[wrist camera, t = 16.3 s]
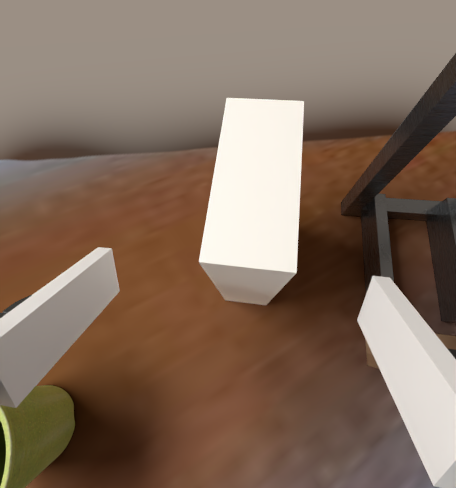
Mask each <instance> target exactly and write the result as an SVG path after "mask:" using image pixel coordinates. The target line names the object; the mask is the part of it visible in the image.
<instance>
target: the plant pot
mask: <svg viewBox="0 0 456 488" xmlns="http://www.w3.org/2000/svg"><path fill="white" fill-rule="evenodd" d="M74 428H75V420H74V403H73V401H72V399H71V397H70V396H69V394H68V393H67V392H66V391H65V390H63V389H62V388H60V387H57V386H52V385H45V386H35V387H34V388H33V390H32V391H31V392H30V393H29V394H28V395H27V396H26V397H25V399H24V400H23V401H22V402H21V403H20V404H19V405H18V406H17V408H14V407H8V406H3V405H0V488H25V487H26V486H27V485H28V484H29V483H30V482H31V481H32V480H34V479H35V478H36V477H37V476H38V475H39V474H40V473H41V472H42V471H43V470H44V469H45V468H46V467H47V466H48V465H50V464H51V463H52V462H53V461H54V460H55V459H56V458H57V457H58V456H59V455H60V454H61V453H62V452H63V451H64V449H65V448H66V447H67V445H68V443H69V441H70V439H71V437H72V434H73V432H74Z"/></svg>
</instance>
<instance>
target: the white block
mask: <svg viewBox="0 0 456 488" xmlns="http://www.w3.org/2000/svg"><path fill="white" fill-rule="evenodd" d="M303 113H304V101H289V100H288V101H287V100H265V99H241V98H227V99H226V106H225V112H224V117H223V123H222V129H221V135H220V140H219V146H218V152H217V158H216V164H215V170H214V176H213V182H212V187H211V193H210V199H209V205H208V211H207V217H206V223H205V229H204V234H203V240H202V246H201V252H200V258H199V263H200V265H201V266H202V267H203V269H204V270H205V272H206V273H207V275H208V276H209V277H210V279H211V280H212V282H213V283H214V285H215V286H216V288H217V289H218V290H219V292H220V293H221V295H222V296H223V298H224V299H225V300H228V301H236V302H244V303H252V304H259V305H267V304H268V303H269V302H270V301H271V300H272V299H273V297H274V296H275V295H276V294H277V293H278V292H279V291H280V290H281V289H282V288H283V287H284V286H285V285H286V284H287V283H288V282H289V281H290V279H291V278H292V277H293V276H294V275H295V274H296V273H297V254H298V230H299V207H300V183H301V160H302V135H303Z"/></svg>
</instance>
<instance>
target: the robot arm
mask: <svg viewBox="0 0 456 488" xmlns="http://www.w3.org/2000/svg"><path fill="white" fill-rule="evenodd" d="M119 291H120V290H119V285H118V279H117V274H116V269H115V263H114V258H113V253H112V249H111V248H101V247H98V248H97V249H95V250H94V251H92V252H91V253H90V254H88V255H87V256H86V257H84V258H83V259H81V260H80V261H79V262H77V263H76V264H74V265H73V266H72V267H70V268H69V269H68V270H66V271H65V272H63V273H62V274H61V275H59V276H58V277H57V278H55V279H54V280H52V281H51V282H50V283H48V284H47V285H46V286H44V287H43V288H41V289H40V290H39V291H37V292H36V293H35V294H33V295H30V296H28V297H26V298H23V299H21V300H19V301H17V302H15V303H14V304H12V305H11V306H9V307H8V308H7V309H5V310H4V311H3V313H0V405H3V406H8V407H14V408H17V406H18V405H19V404H20V403H21V402H22V401H23V400H24V399H25V397H26V396H27V395H28V394H29V393H30V392H31V391H32V390H33V388H34V387H35V386H36V385H37V384H38V383H39V382H40V381H41V379H42V378H43V377H44V376H45V375H46V374H47V373H48V371H49V370H50V369H51V368H52V367H53V366H54V365H55V364H56V362H57V361H58V360H59V359H60V358H61V357H62V356H63V355H64V353H65V352H66V351H67V350H68V349H69V348H70V347H71V346H72V344H73V343H74V342H75V341H76V340H77V339H78V338H79V336H80V335H81V334H82V333H83V332H84V331H85V330H86V329H87V327H88V326H89V325H90V324H91V323H92V322H93V321H94V320H95V318H96V317H97V316H98V315H99V314H100V313H101V312H102V310H103V309H104V308H105V307H106V306H107V305H108V304H109V303H110V301H111V300H112V299H113V298H114V297H115V296H116V295H117V294H118V292H119ZM357 321H358V323H359V326H360V328H361V330H362V332H363V334H364V336H365V339H366V341H367V343H368V345H369V347H370V349H371V352H372V354H373V356H374V358H375V360H376V362H377V365H378V367H379V369H380V371H381V373H382V375H383V378H384V380H385V382H386V384H387V386H388V388H389V391H390V393H391V395H392V397H393V399H394V401H395V404H396V406H397V408H398V410H399V412H400V414H401V417H402V419H403V421H404V423H405V425H406V427H407V430H408V432H409V434H410V436H411V438H412V441H413V443H414V445H415V447H416V449H417V451H418V454H419V456H420V458H421V460H422V462H423V464H424V467H425V469H426V471H427V473H428V475H429V477H430V480H431V482H432V484H433V486H435V487H440V488H456V350H454V349H447V348H446V347H445V345H444V344H443V343H442V342H441V340H440V339H439V338H438V337H437V335H436V334H435V333H434V332H433V330H432V329H431V328H430V327H429V325H428V324H427V323H426V322H425V321H424V319H423V318H422V317H421V316H420V314H419V313H418V312H417V311H416V309H415V308H414V307H413V306H412V304H411V303H410V302H409V301H408V299H407V298H406V297H405V296H404V294H403V293H402V292H401V291H400V289H399V288H398V287H397V286H396V284H395V283H394V282H393V281H392V280H391V278H390V277H380V276H372V279H371V282H370V285H369V288H368V291H367V293H366V296H365V299H364V302H363V305H362V308H361V311H360V313H359V316H358V319H357Z"/></svg>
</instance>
